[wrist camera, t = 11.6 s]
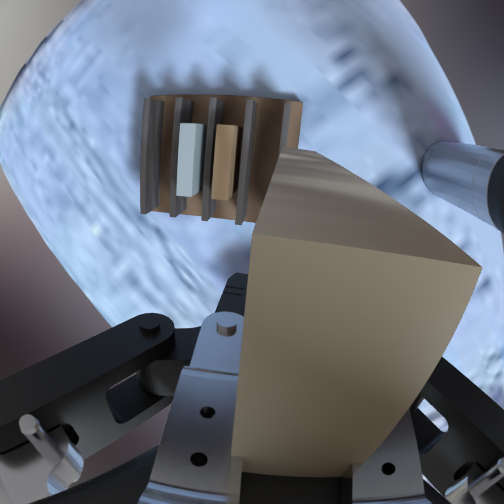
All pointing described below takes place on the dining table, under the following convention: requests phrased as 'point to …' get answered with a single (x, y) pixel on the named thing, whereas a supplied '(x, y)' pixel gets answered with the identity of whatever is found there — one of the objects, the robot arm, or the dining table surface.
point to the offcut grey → (191, 159)
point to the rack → (251, 156)
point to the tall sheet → (338, 319)
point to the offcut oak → (226, 161)
